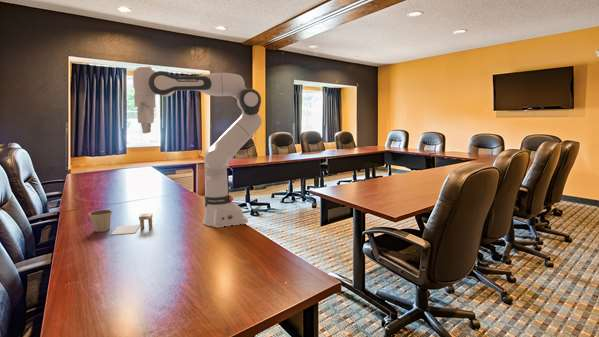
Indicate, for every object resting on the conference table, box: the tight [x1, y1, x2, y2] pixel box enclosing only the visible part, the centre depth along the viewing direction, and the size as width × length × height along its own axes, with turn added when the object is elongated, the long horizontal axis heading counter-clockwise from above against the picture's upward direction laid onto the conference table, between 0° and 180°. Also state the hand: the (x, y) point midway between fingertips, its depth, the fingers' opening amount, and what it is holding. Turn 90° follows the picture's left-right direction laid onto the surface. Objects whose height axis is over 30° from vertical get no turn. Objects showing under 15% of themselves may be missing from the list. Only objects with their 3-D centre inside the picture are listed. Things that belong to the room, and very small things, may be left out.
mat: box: [110, 224, 140, 236], centre depth 155 cm, size 10×12×1 cm
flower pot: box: [88, 209, 113, 233], centre depth 154 cm, size 9×9×9 cm
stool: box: [138, 212, 153, 232], centre depth 156 cm, size 5×5×7 cm
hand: (146, 133), depth 153 cm, fingers open, 8 cm apart
